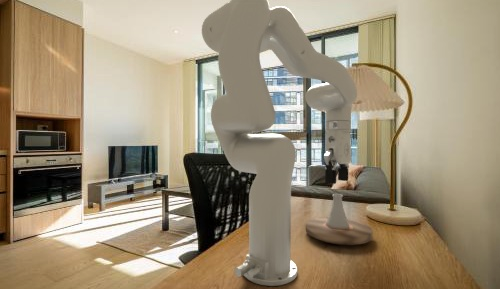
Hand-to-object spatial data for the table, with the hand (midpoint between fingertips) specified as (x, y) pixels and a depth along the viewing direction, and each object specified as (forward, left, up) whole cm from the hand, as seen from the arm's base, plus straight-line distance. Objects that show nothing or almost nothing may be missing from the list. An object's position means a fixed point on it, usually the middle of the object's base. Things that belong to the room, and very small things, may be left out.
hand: (337, 181), depth 80 cm
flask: (0, 0, -14) cm, 14 cm away
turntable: (+1, 0, -16) cm, 16 cm away
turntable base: (+1, 0, -17) cm, 17 cm away
